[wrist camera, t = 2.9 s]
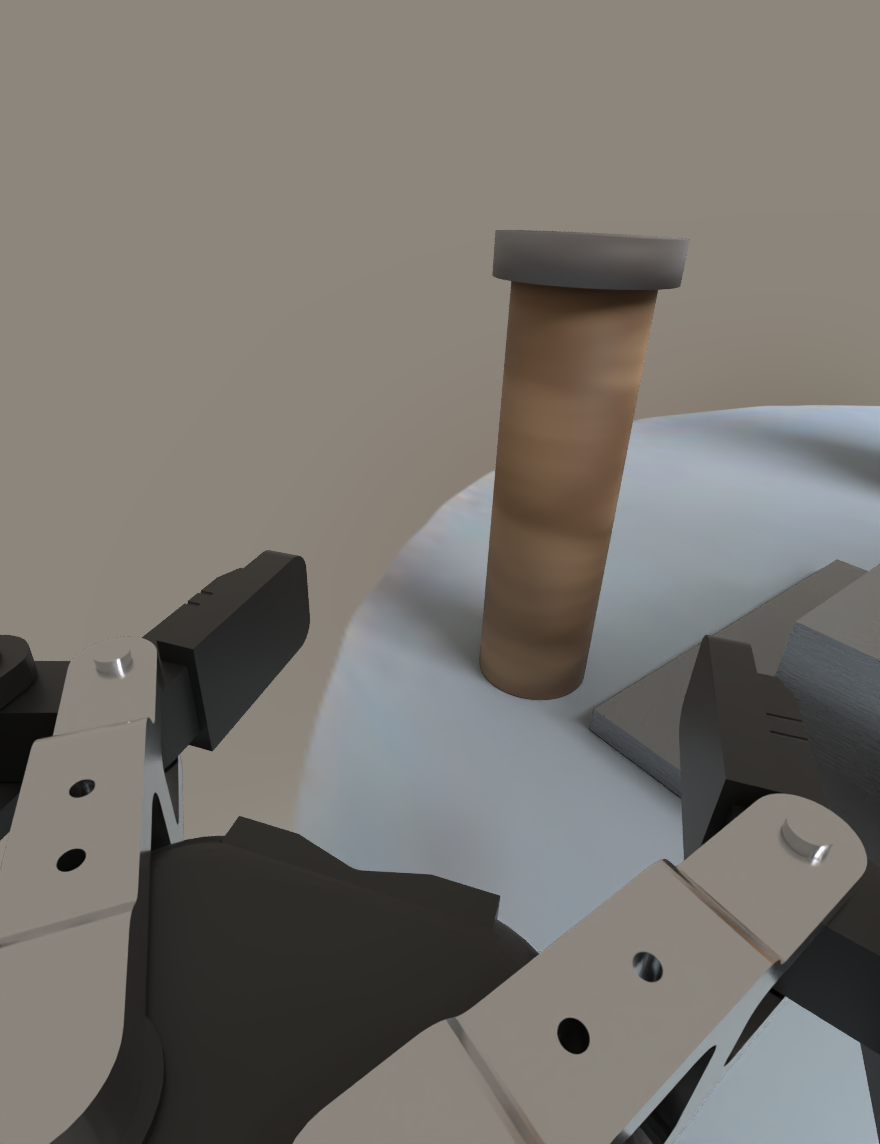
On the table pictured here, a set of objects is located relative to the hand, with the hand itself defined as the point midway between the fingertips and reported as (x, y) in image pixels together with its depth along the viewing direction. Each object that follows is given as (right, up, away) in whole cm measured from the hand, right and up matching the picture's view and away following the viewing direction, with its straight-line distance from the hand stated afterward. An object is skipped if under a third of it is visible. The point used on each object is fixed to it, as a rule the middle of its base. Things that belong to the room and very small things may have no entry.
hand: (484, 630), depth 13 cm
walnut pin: (+3, -3, +14) cm, 15 cm away
